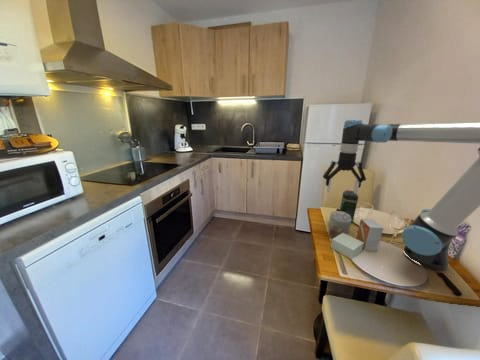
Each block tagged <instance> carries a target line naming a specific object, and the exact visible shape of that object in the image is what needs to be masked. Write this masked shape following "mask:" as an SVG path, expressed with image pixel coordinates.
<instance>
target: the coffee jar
mask: <svg viewBox="0 0 480 360" xmlns="http://www.w3.org/2000/svg"><path fill="white" fill-rule="evenodd" d="M358 201H359V195H358V193H357V194H355V193H354V190H353V191H352V190H347V189H346V190H345V191H343V192H342V197H341V202H340V206H339V211H341V212H345V213H347V214H349V215H350V216H351V219H352V221H351V224H352V223H353V222H354V218H355V213H356V209H357V204H358Z"/></svg>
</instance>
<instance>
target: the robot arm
mask: <svg viewBox="0 0 480 360" xmlns="http://www.w3.org/2000/svg"><path fill="white" fill-rule="evenodd" d="M343 123H344V124H343V129H342V137H341V143H340V148H339V151H340V152H339V153H338V161H336V160H331V162H330V165H329V167H328V168H327V170H326V171H325V172H324V174H323V175H322V177H323V179H324V180H325V186H326V192H327V193H330V191H331V185H332V180H331V179H333V177H334V176H335V175H336V174H338V173H340V172H342V171H346V172H347V171H348V172H350V171H351V173H352V175H353V176H354V177H355V183H354V188H353V191H354V193H355V194H357V195H358V193H359V192H358V191H359V188H361V185H362V182H364V181H367V178H366V176H365V173H364V169H363V163H362V162H361V161H357V162H356V160H357V155H358V154H357V152H358V147H359V143H360V141H361V142H371V143H372V142H373V143H377V144H378V143H385V144H386V143H387V142H390V141H391V142H423V143H425V142H426V143H452V144H453V143H454V144H456V143H457V144H479V145H480V121H466V122H462V121H461V122H429V123H428V122H427V123H426V122H425V123H387V124H386V123H384V124H383V123H382V124H373V123H372V124H371V123H369V124H367V123H363V120H362V119H346V120H345V121H344V122H343ZM477 153H478V158H477V159H476V160H475V161H474V162H473V163H472V164H471V166H469V168H467V170H466V171H465V172H464V173H463V174H462V175H461V176H460V177H459V178H458V179H457V180H456V182H455V183H453V185H452V186H451V187H449V190H447V191H446V193H444V195H443V196H442V197H441V198H440V199H439V200H438V201H437V202H436V203H435V205H434V206H433V207H432V208H431V209H430V208H425V209H422V210H421V212H420V213H419V214H418V215H417V217H416V218H415V219H414V220H413V221H412V223H410V225H408V226H406V227H405V228H404V229H403V231H402V233H401V238H402V241H403V243H404V247H403V249H402V251H403V250H404V251H405V253H406V254H407V255H408V256H409V257H410V258H411V259H413V260H415V261H417V262H419V263H420V264H421V265H422V266H423V267H422V266H421V267H422V268H426V269H428V270H432V271H433V270H434V271H438V272H439V271H445V270H447V269H448V266H449V254H448V250H449V248H450V245H451V243H452V240H453V239H454V238H455V237H457V235H458V234H459V230H458V227H459V226H460V225H461V224H462V223H463V222H465V220H466V219H467V218H469V217H470V216H471V215H472V214H473V213H474V212H475V211H477V209H478V208H479V207H480V147H479V148H478V149H477ZM335 166H337V167H336V168H335ZM355 166H356V168H357V170H358V172H359V174H358V173H357V172H356V170H355V168H354V167H355ZM334 168H335V169H334Z"/></svg>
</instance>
